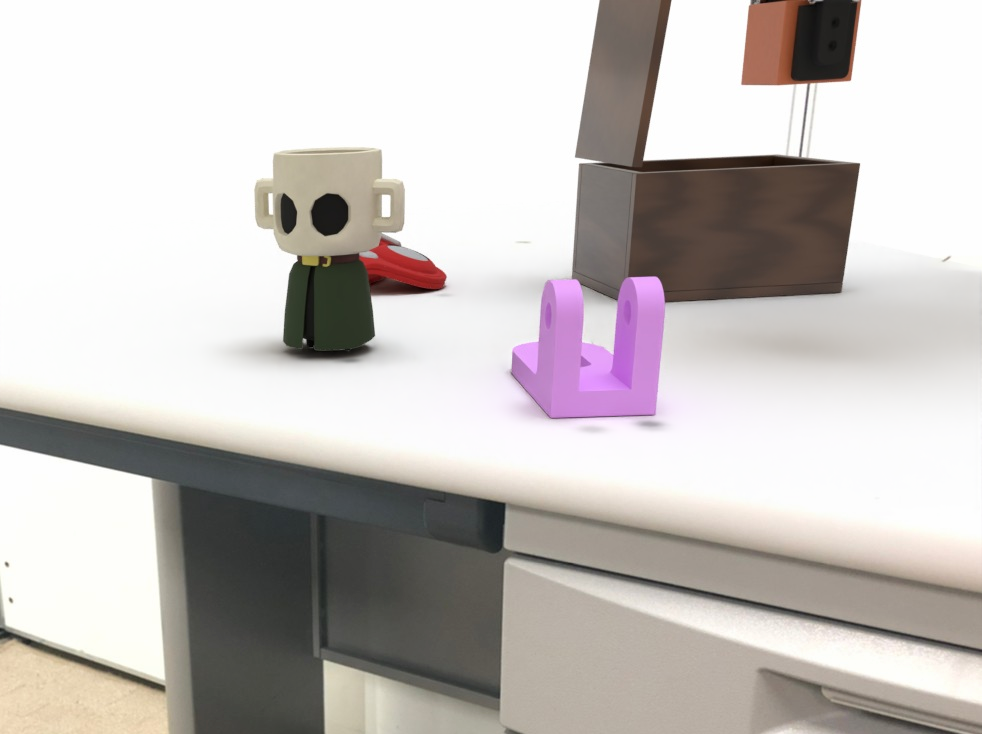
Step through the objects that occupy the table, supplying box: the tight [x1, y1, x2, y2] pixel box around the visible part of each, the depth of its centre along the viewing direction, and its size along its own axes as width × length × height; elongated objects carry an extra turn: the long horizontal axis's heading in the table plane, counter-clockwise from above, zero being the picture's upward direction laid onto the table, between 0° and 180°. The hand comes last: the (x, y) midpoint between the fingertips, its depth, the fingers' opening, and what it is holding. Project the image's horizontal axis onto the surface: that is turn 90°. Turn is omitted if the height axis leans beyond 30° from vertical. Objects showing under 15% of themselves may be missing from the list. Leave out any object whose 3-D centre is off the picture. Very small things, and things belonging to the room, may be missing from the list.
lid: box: [574, 0, 672, 167], centre depth 92 cm, size 18×13×6 cm
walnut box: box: [571, 153, 861, 303], centre depth 98 cm, size 18×13×10 cm
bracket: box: [510, 277, 666, 419], centre depth 69 cm, size 13×6×7 cm, turn 0°
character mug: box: [253, 146, 406, 352], centre depth 80 cm, size 11×7×13 cm, turn 60°
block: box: [740, 0, 862, 86], centre depth 71 cm, size 4×4×4 cm
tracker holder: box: [359, 232, 448, 290], centre depth 106 cm, size 12×4×10 cm
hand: (795, 76), depth 71 cm, fingers closed on block, 4 cm apart
